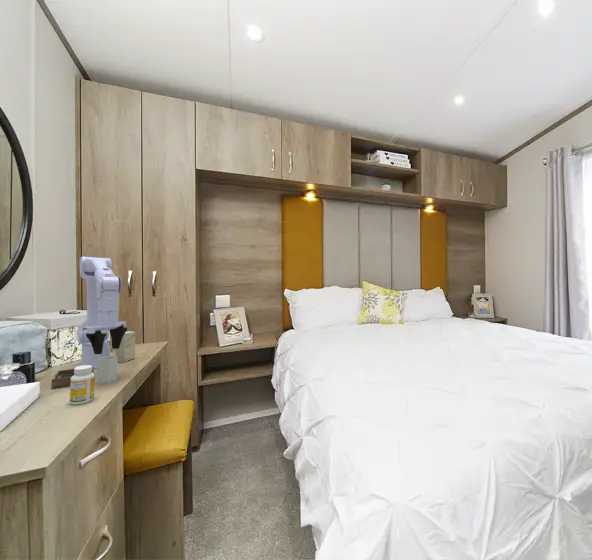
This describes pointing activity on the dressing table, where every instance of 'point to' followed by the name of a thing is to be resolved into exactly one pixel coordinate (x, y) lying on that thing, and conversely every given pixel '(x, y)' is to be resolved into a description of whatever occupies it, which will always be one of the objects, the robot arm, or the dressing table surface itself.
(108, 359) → the sage peg
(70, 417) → the dressing table surface
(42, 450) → the dressing table surface
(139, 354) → the dressing table surface
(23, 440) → the dressing table surface
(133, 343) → the skincare box
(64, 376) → the bore box
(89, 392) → the supplement bottle
